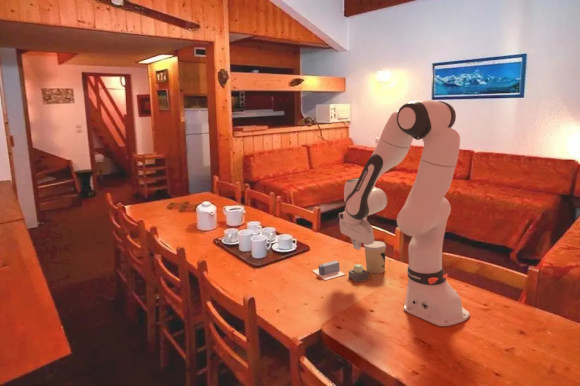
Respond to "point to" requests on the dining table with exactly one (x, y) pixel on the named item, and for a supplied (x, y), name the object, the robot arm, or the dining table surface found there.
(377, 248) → the coffee cup
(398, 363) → the dining table surface
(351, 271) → the button housing
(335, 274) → the paper
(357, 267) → the button
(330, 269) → the grey rectangular block
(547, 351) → the dining table surface
